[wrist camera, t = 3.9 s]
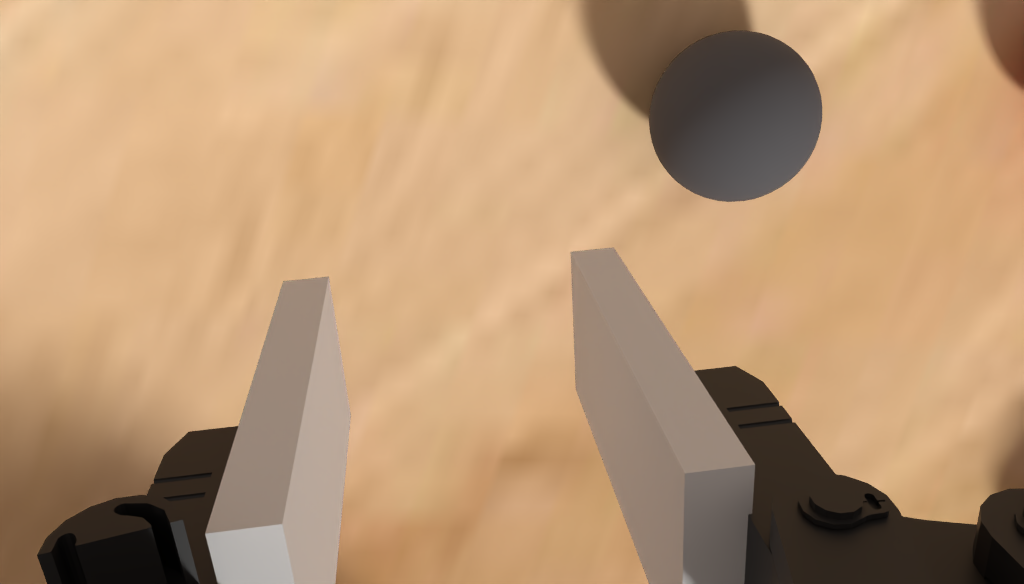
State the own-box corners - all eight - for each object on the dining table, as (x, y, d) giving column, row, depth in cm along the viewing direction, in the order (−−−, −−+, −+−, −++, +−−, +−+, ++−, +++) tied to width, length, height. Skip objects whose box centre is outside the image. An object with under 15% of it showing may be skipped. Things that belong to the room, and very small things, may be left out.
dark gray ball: (631, 182, 32) (675, 232, 27) (630, 28, 30) (677, 51, 25) (776, 168, 33) (845, 215, 28) (785, 15, 30) (862, 35, 25)
